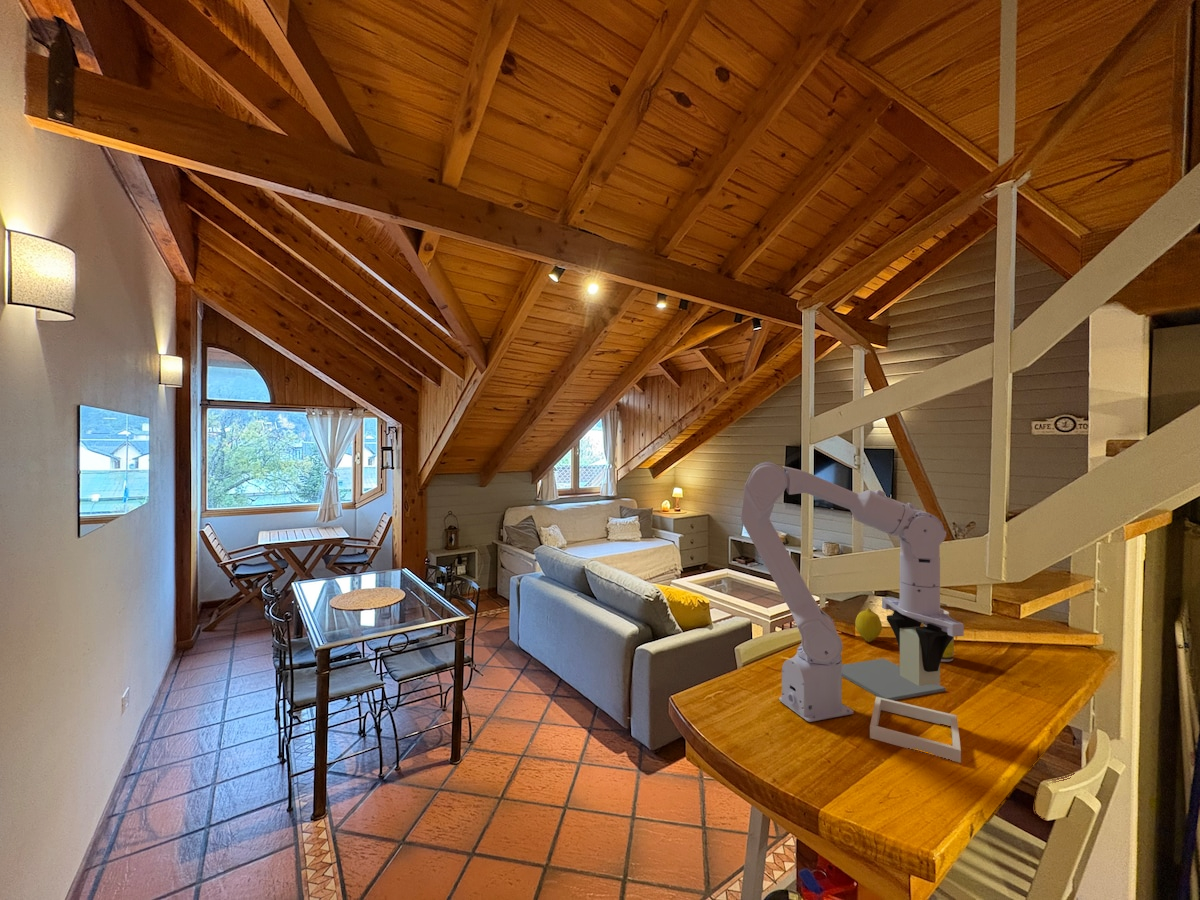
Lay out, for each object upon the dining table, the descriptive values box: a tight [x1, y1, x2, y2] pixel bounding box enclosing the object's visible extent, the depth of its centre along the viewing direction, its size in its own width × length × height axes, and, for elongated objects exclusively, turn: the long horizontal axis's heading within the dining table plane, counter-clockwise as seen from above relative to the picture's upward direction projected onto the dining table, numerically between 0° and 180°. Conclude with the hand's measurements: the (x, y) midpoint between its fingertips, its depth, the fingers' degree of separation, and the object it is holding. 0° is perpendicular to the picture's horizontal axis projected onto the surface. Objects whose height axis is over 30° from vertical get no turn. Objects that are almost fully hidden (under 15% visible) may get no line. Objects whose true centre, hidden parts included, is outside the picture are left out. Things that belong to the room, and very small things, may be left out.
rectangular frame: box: [869, 696, 962, 764], centre depth 81 cm, size 12×12×2 cm
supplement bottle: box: [922, 609, 955, 663], centre depth 110 cm, size 6×6×10 cm
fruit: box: [854, 607, 883, 643], centre depth 119 cm, size 6×6×8 cm
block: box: [899, 625, 941, 686], centre depth 84 cm, size 4×4×8 cm
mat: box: [842, 658, 946, 701], centre depth 99 cm, size 14×14×1 cm
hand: (919, 664), depth 84 cm, fingers closed on block, 4 cm apart
